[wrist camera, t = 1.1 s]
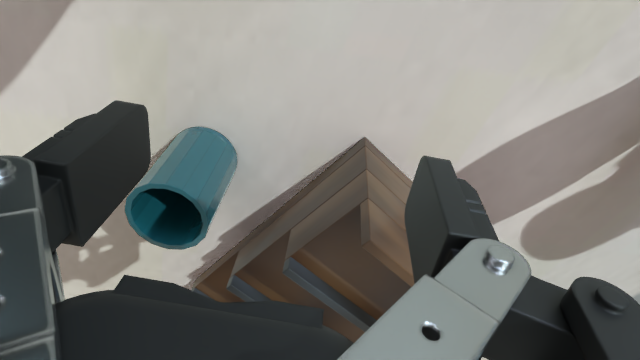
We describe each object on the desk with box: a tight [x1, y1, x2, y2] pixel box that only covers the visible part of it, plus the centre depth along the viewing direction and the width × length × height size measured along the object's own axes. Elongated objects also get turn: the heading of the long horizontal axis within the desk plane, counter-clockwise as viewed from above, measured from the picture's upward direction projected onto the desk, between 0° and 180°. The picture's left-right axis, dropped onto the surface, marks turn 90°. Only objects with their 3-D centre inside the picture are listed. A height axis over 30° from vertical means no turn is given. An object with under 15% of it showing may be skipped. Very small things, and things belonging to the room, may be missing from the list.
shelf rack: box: [191, 137, 415, 343], centre depth 35 cm, size 15×24×12 cm, turn 136°
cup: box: [125, 127, 237, 249], centre depth 31 cm, size 6×6×8 cm
